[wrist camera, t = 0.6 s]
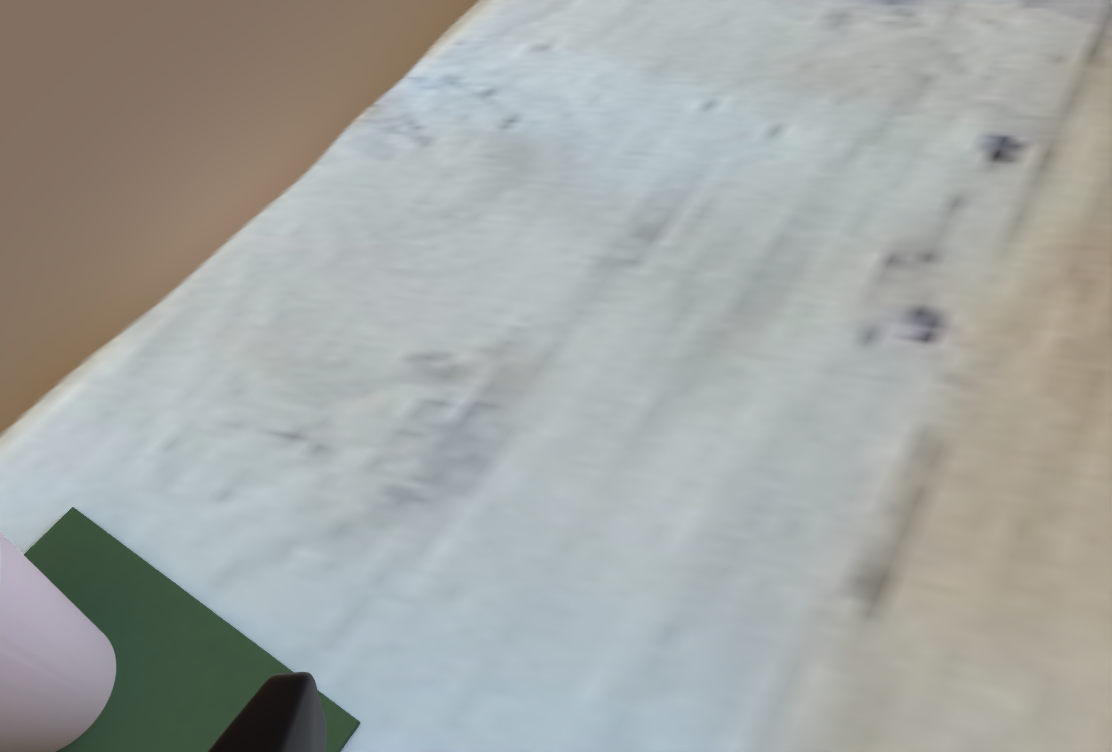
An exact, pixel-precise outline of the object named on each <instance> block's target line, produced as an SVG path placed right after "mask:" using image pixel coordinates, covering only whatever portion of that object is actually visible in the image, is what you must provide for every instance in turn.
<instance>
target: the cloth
mask: <svg viewBox="0 0 1112 752" xmlns="http://www.w3.org/2000/svg"><path fill="white" fill-rule="evenodd" d="M24 556H25V557H26V558H27V559H28V560H29V561H30V562H31V563H32V564H33V565H34V566H35V567H36V568H37V569H38V570H39V571H41V572H42V573H43V574H44V575H45V576H46V577H47V578H48V579H49V580H50V581H51V582H52V583H53V584H54V585H55V586H56V587H57V588H58V589H59V590H60V591H61V592H62V593H63V594H64V595H65V596H66V597H67V598H68V599H69V600H70V601H71V602H72V603H73V604H74V605H75V606H76V607H77V608H78V609H79V610H80V611H81V612H82V613H83V614H84V615H85V616H86V617H87V618H88V619H89V620H90V621H91V622H92V623H93V624H94V625H95V626H96V627H97V628H98V629H99V630H100V631H101V632H102V633H103V634H104V635H105V636H106V637H107V638H108V640H109V641H110V643H111V645H112V647H113V650H114V653H115V657H116V677H115V682H114V686H113V689H112V692H111V695H110V697H109V699H108V701H107V703H106V705H105V707H104V709H103V710H102V712H101V713H100V715H99V716H98V718H97V719H96V720H95V721H94V723H93V724H92V725H91V726H90V727H89V728H88V729H87V730H86V731H85V732H84V733H83V734H82V735H81V736H80V737H78V738H77V739H76V740H74V741H73V742H72V743H70V744H69V745H67V746H65V747H64V748H62V749H60V750H58V751H56V752H207V751H208V750H209V749H210V748H211V746H212V745H213V744H214V743H215V742H216V740H217V739H218V738H219V737H220V736H221V734H222V733H223V732H224V731H225V729H226V728H227V727H228V726H229V725H230V723H231V722H232V721H233V720H234V719H235V717H236V716H237V715H238V714H239V713H240V711H241V710H242V709H243V708H244V707H245V705H246V704H247V703H248V702H249V701H250V699H251V698H252V697H253V696H254V695H255V693H256V692H257V691H258V690H259V689H260V687H261V686H262V685H263V684H264V683H265V681H266V680H267V679H268V678H270V677H271V676H273V675H274V674H278V673H294V672H292V671H291V670H290V669H288V668H287V667H286V666H284V665H283V664H282V663H280V662H279V661H278V660H276V659H275V658H274V657H272V656H271V655H270V654H268V653H267V652H266V651H264V650H263V649H262V648H260V647H259V646H258V645H256V644H255V643H254V642H252V641H251V640H250V639H248V638H247V637H246V636H244V635H243V634H242V633H240V632H239V631H238V630H236V629H235V628H234V627H232V626H231V625H230V624H228V623H227V622H226V621H224V620H223V619H222V618H220V617H219V616H218V615H216V614H215V613H214V612H212V611H211V610H210V609H208V608H207V607H206V606H204V605H203V604H202V603H200V602H199V601H198V600H196V599H195V598H194V597H192V596H191V595H190V594H188V593H187V592H186V591H184V590H183V589H182V588H180V587H179V586H178V585H176V584H175V583H174V582H172V581H171V580H170V579H168V578H167V577H166V576H164V575H163V574H162V573H160V572H159V571H158V570H156V569H155V568H154V567H152V566H151V565H150V564H148V563H147V562H146V561H144V560H143V559H142V558H140V557H139V556H138V555H136V554H135V553H134V552H132V551H131V550H130V549H128V548H127V547H126V546H124V545H123V544H122V543H120V542H119V541H118V540H116V539H115V538H114V537H112V536H111V535H110V534H108V533H107V532H106V531H104V530H103V529H102V528H100V527H99V526H98V525H96V524H95V523H94V522H92V521H91V520H90V519H88V518H87V517H86V516H84V515H83V514H82V513H80V512H79V511H78V510H76V509H75V508H74V507H72V508H71V509H70V510H69V511H68V512H67V513H66V514H65V515H64V516H63V517H62V518H61V519H60V520H59V521H58V522H57V523H56V524H55V525H54V526H53V527H52V528H51V529H50V530H49V531H48V532H47V533H46V534H45V535H44V536H43V537H42V538H40V539H39V540H38V541H37V542H36V543H35V544H34V545H33V546H32V547H31V548H30V549H29V550H28V551H27V552H26V553H25V554H24ZM318 694H319V697H320V701H321V704H322V708H323V711H324V715H325V718H326V724H327V742H326V751H325V752H340V750H341V749H342V748H343V746H344V745H345V743H346V742H347V741H348V739H349V738H350V737H351V735H352V734H353V732H354V731H355V730H356V728H357V727H358V725H359V724H360V722H359V721H358V720H356V719H355V718H354V717H352V716H351V715H350V714H348V713H347V712H346V711H344V710H343V709H342V708H340V707H339V706H338V705H336V704H335V703H334V702H332V701H331V700H330V699H328V698H327V697H326V696H324V695H323V694H322V693H320V692H319V691H318Z"/></svg>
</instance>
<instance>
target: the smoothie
mask: <svg viewBox="0 0 1112 752" xmlns="http://www.w3.org/2000/svg"><path fill="white" fill-rule="evenodd" d="M115 677H116V657H115V653H114V650H113V647H112V645H111V643H110V641H109V640H108V638H107V637H106V636H105V635H104V634H103V633H102V632H101V631H100V630H99V629H98V628H97V627H96V626H95V625H94V624H93V623H92V622H91V621H90V620H89V619H88V618H87V617H86V616H85V615H84V614H83V613H82V612H81V611H80V610H79V609H78V608H77V607H76V606H75V605H74V604H73V603H72V602H71V601H70V600H69V599H68V598H67V597H66V596H65V595H64V594H63V593H62V592H61V591H60V590H59V589H58V588H57V587H56V586H55V585H54V584H53V583H52V582H51V581H50V580H49V579H48V578H47V577H46V576H45V575H44V574H43V573H42V572H41V571H39V570H38V569H37V568H36V567H35V566H34V565H33V564H32V563H31V562H30V561H29V560H28V559H27V558H26V557H25V556H24V555H23V554H22V553H21V552H20V551H19V550H18V549H17V548H16V547H15V546H14V545H13V544H12V543H11V542H10V541H9V540H8V539H7V538H6V537H5V536H4V535H3V534H2V533H1V532H0V752H56V751H58V750H60V749H62V748H64V747H65V746H67V745H69V744H70V743H72V742H73V741H74V740H76V739H77V738H78V737H80V736H81V735H82V734H83V733H84V732H85V731H86V730H87V729H88V728H89V727H90V726H91V725H92V724H93V723H94V721H95V720H96V719H97V718H98V716H99V715H100V713H101V712H102V710H103V709H104V707H105V705H106V703H107V701H108V699H109V697H110V695H111V692H112V689H113V686H114V682H115Z"/></svg>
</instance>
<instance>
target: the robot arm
mask: <svg viewBox="0 0 1112 752" xmlns="http://www.w3.org/2000/svg"><path fill="white" fill-rule="evenodd" d="M326 742H327V724H326V718H325V715H324V711H323V708H322V704H321V701H320V697H319V694H318V690H317V687H316V683H315V680H314V678H313V676H312V675H311V674H310V673H307V672H295V673H278V674H274V675H273V676H271V677H270V678H268V679H267V680H266V681H265V683H264V684H263V685H262V686H261V687H260V689H259V690H258V691H257V692H256V693H255V695H254V696H253V697H252V698H251V699H250V701H249V702H248V703H247V704H246V705H245V707H244V708H243V709H242V710H241V711H240V713H239V714H238V715H237V716H236V717H235V719H234V720H233V721H232V722H231V723H230V725H229V726H228V727H227V728H226V729H225V731H224V732H223V733H222V734H221V736H220V737H219V738H218V739H217V740H216V742H215V743H214V744H213V745H212V746H211V748H210V749H209V750H208V751H207V752H325V751H326Z"/></svg>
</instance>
